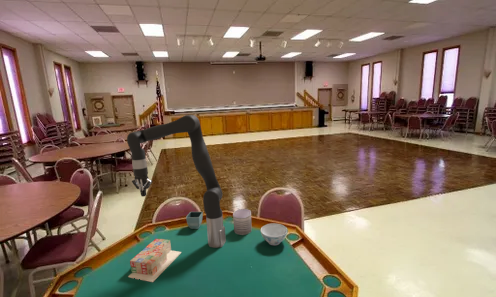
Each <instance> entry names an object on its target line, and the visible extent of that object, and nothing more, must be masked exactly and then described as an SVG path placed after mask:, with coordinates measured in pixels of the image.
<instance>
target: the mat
mask: <svg viewBox="0 0 496 297" xmlns="http://www.w3.org/2000/svg"><path fill="white" fill-rule="evenodd" d="M181 254H182V251H178V250H177V251H176V250H172V249H171V250H170V251H169V253H168V254H167V261H166V262H165V263H164V264H163V265H162V267H161V268H160V269H159V270H158V271H157V272H156V273H155V274H154V275H146V274H140V273H133V272H131V273H130V274H129V275H128V276H127V277H128V278H131V279H134V278H135V280H139V279H140V281H143V282H150V283H154V282H155V281H156V279H157V278H159V276H160V275H161V274H162V273H164V271H165V270H166V269H167V268H168V267H169V266H170V265H171V264H172V263H173V262H174V261H175V260H176V259H177V258H178V257H179V256H180V255H181Z"/></svg>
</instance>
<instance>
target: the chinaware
mask: <svg viewBox="0 0 496 297" xmlns="http://www.w3.org/2000/svg"><path fill="white" fill-rule="evenodd" d="M260 234H261V236H262V238H263V240H264V241H266V242H267V243H268V244H269V245H270V246H278V245H280V244H281V242H283V241H284V240H285V239H286V237H287V234H288V228H287V226H285V225H283V224H280V223H267V224H265V225H263V226H261V228H260Z"/></svg>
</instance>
